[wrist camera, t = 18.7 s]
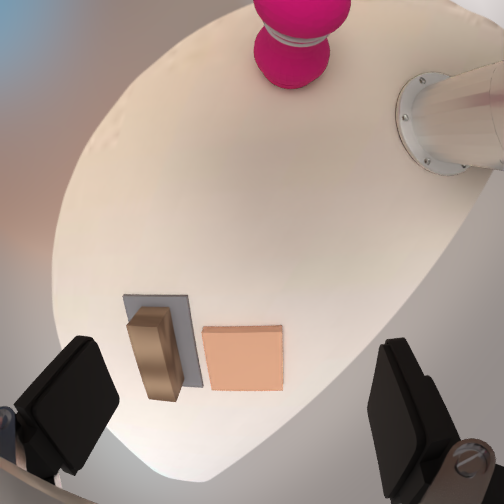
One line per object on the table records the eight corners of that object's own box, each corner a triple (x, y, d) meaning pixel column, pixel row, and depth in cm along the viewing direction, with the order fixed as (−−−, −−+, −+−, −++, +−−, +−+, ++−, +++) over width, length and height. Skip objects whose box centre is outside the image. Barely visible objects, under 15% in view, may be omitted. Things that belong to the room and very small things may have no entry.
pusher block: (141, 306, 38) (126, 325, 33) (169, 307, 38) (156, 327, 33) (159, 376, 42) (148, 399, 37) (184, 379, 42) (176, 402, 37)
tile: (201, 332, 38) (211, 390, 41) (282, 331, 37) (282, 390, 40) (204, 324, 40) (214, 381, 43) (281, 323, 39) (282, 381, 42)
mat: (187, 295, 38) (186, 296, 37) (203, 385, 42) (202, 387, 42) (124, 294, 38) (122, 296, 38) (147, 381, 43) (146, 383, 42)
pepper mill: (316, 99, 30) (373, 34, 11) (250, 87, 30) (221, 4, 11) (326, 43, 28) (380, -58, 9) (262, 30, 28) (250, -83, 9)
